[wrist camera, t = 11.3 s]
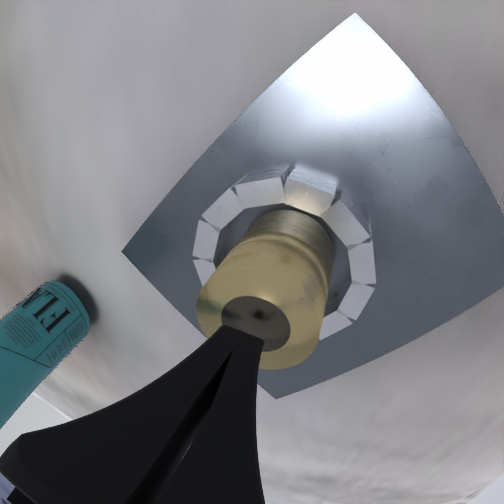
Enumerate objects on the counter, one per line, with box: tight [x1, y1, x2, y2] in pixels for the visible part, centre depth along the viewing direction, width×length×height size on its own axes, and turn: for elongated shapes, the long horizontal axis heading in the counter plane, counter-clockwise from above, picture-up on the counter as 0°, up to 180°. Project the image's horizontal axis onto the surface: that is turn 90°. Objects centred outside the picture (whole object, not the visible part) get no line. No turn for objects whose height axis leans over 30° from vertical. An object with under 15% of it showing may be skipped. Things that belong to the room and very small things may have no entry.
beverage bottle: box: [0, 281, 90, 429], centre depth 19 cm, size 6×7×20 cm
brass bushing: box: [196, 210, 334, 370], centre depth 15 cm, size 5×5×6 cm
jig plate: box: [122, 13, 504, 399], centre depth 17 cm, size 16×20×2 cm
